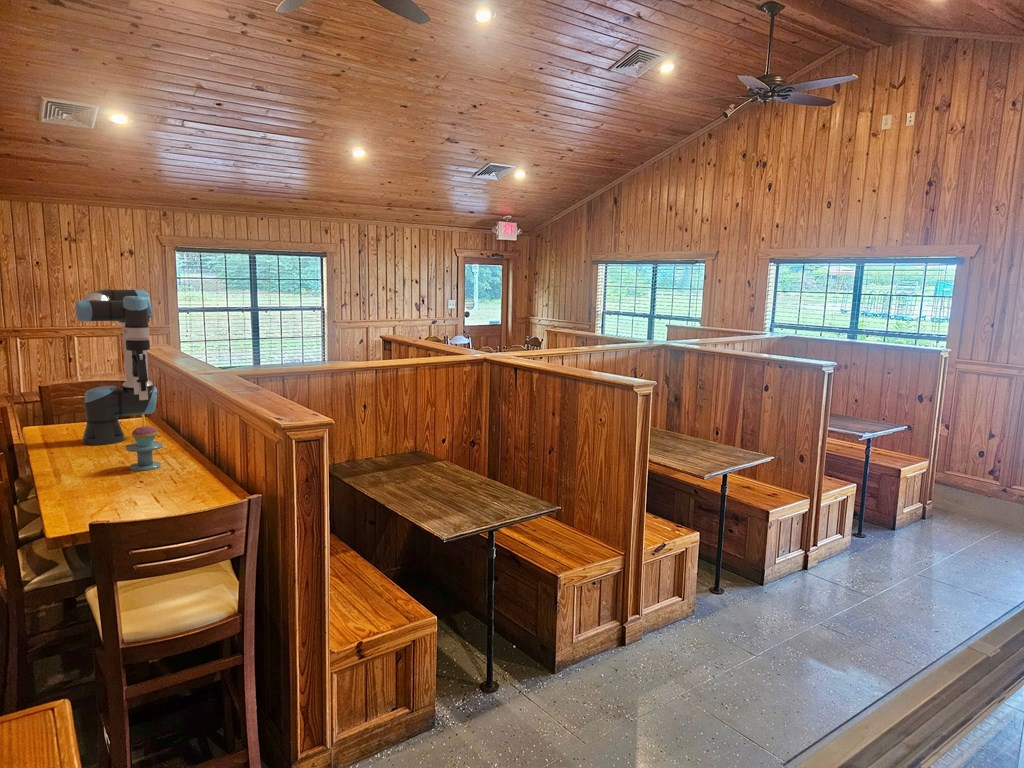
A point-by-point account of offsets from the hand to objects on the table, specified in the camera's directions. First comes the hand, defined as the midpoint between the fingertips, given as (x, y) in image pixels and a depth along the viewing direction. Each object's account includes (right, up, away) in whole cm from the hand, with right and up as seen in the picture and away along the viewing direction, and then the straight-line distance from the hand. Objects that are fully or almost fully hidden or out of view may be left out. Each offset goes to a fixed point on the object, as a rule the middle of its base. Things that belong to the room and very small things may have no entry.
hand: (141, 397), depth 238 cm
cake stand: (-1, -26, +4) cm, 27 cm away
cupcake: (0, -18, +2) cm, 18 cm away
